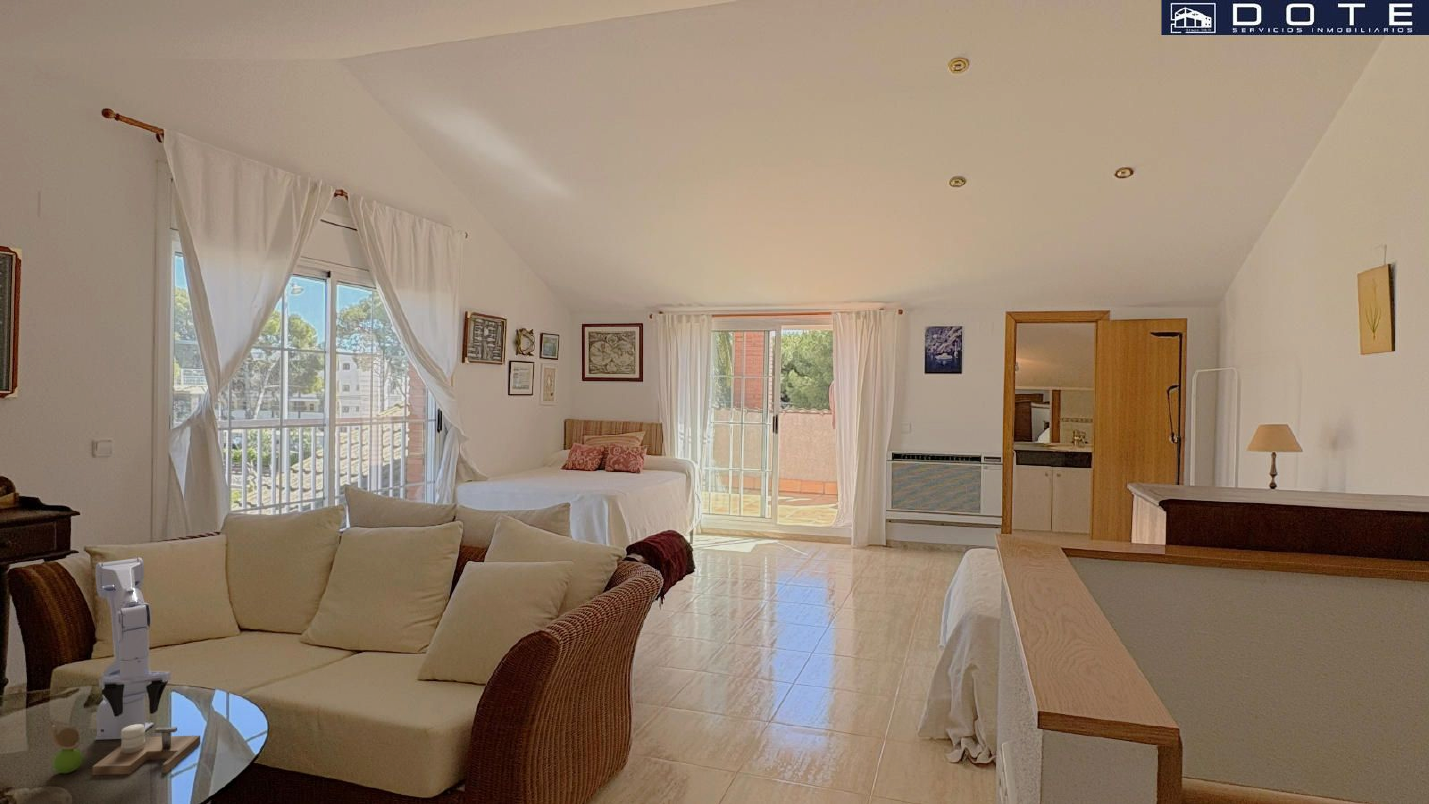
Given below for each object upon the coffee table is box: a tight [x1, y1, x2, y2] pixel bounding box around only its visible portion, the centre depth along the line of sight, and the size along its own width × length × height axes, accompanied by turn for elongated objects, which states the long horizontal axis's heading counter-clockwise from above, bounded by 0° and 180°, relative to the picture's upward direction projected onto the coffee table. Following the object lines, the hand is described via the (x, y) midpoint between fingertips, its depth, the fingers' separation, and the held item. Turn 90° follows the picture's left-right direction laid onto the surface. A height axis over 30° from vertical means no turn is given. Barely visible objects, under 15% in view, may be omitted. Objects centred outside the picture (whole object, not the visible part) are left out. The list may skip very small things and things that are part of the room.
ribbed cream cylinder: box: [120, 724, 146, 753], centre depth 189 cm, size 5×5×5 cm
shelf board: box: [92, 735, 201, 776], centre depth 189 cm, size 16×14×2 cm
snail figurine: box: [48, 720, 84, 774], centre depth 182 cm, size 5×6×12 cm
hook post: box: [154, 726, 178, 750], centre depth 190 cm, size 4×2×5 cm, turn 96°
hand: (136, 713), depth 189 cm, fingers open, 7 cm apart
